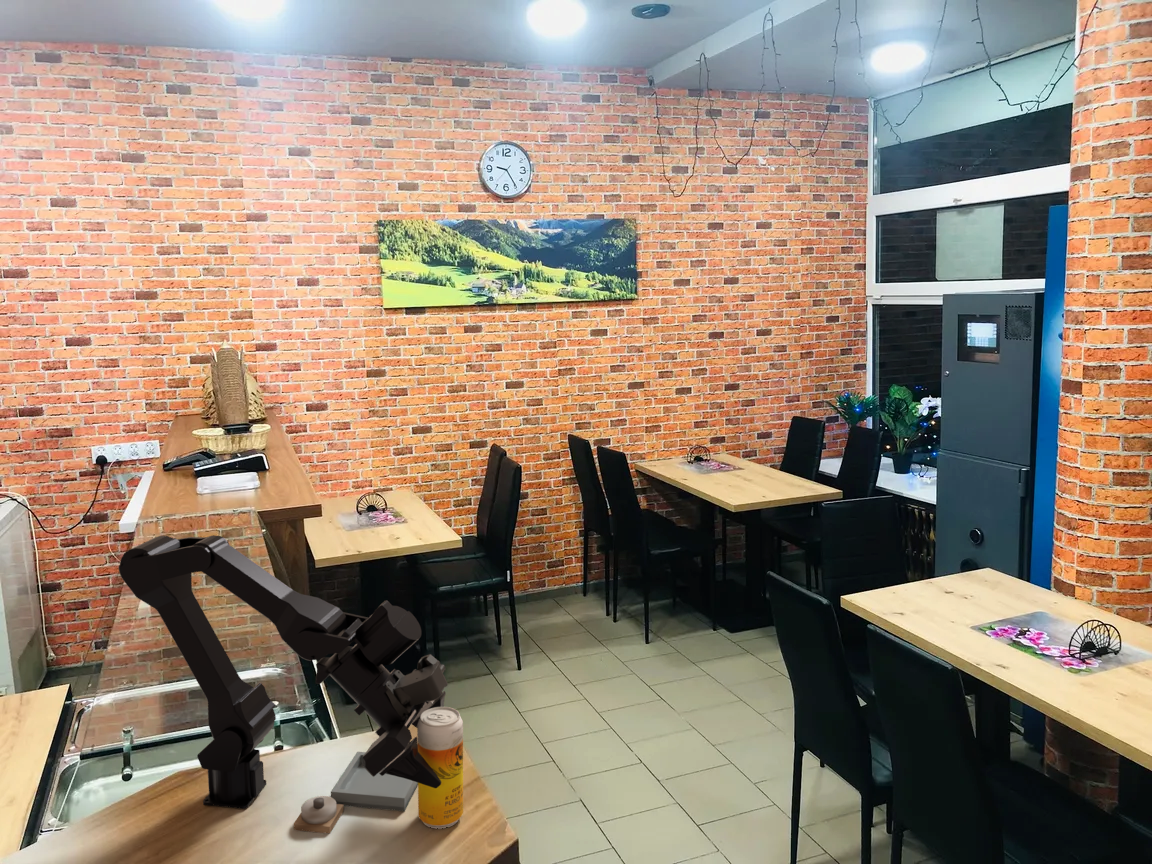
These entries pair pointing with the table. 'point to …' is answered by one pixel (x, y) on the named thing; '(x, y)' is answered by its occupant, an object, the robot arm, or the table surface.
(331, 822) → the desk bell
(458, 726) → the beer can
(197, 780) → the table surface
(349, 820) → the table surface
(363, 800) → the tray
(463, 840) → the table surface
